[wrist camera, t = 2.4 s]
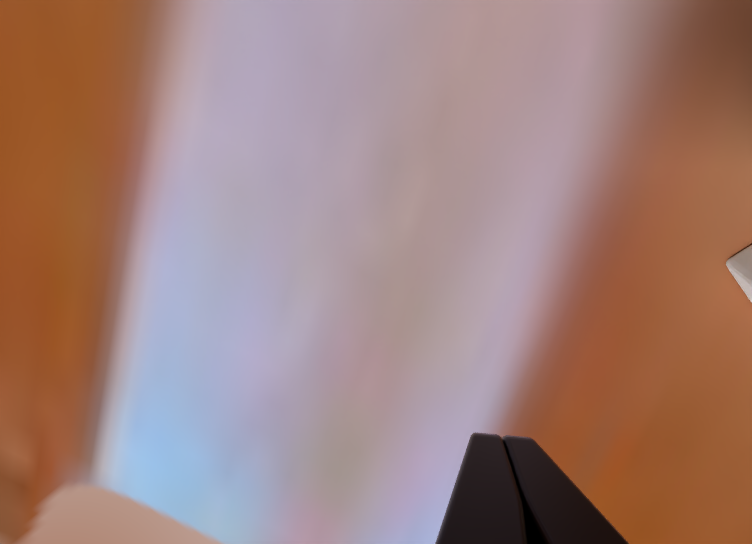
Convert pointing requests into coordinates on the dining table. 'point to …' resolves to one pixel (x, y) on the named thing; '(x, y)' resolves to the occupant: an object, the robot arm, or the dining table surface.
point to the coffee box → (742, 270)
